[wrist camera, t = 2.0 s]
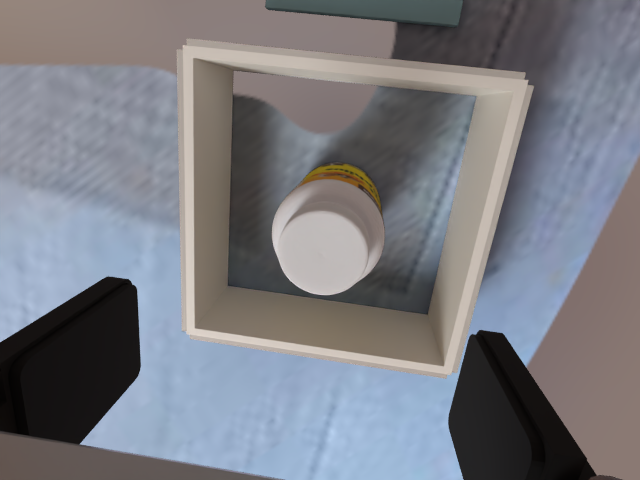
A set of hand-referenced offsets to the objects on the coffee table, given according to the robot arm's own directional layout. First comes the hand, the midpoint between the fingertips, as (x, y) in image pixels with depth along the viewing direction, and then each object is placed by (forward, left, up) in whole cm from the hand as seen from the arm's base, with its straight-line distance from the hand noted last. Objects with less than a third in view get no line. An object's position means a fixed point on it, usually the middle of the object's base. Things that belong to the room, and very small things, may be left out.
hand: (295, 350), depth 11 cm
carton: (0, 0, -16) cm, 16 cm away
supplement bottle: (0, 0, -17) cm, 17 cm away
